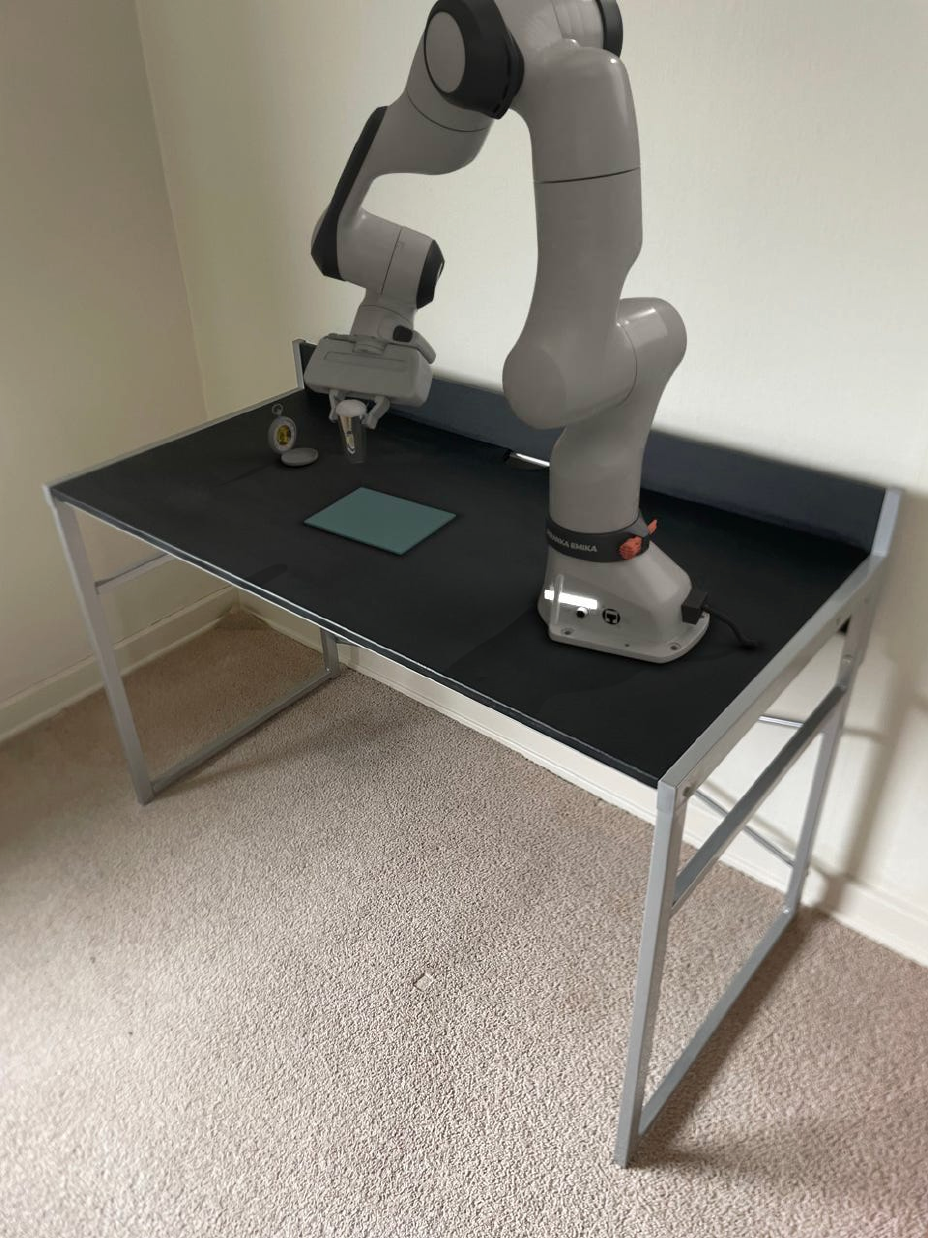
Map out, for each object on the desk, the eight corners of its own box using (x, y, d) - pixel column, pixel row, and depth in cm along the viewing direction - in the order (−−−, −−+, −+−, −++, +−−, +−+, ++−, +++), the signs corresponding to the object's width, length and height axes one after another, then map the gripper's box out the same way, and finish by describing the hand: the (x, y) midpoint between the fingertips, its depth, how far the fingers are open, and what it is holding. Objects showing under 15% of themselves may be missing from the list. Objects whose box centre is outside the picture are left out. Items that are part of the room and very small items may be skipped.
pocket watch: (315, 467, 165) (307, 414, 159) (269, 469, 165) (259, 416, 160) (322, 448, 172) (314, 396, 166) (277, 450, 172) (268, 399, 167)
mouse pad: (455, 516, 146) (455, 514, 146) (400, 555, 137) (400, 553, 137) (361, 489, 157) (361, 486, 156) (304, 523, 148) (303, 521, 147)
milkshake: (371, 466, 138) (366, 403, 132) (337, 464, 139) (330, 401, 133) (379, 453, 141) (374, 391, 136) (346, 451, 142) (339, 389, 136)
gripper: (312, 321, 139) (283, 406, 138) (429, 334, 131) (400, 424, 129) (332, 341, 145) (305, 423, 143) (446, 355, 136) (418, 442, 135)
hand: (351, 424), depth 136 cm, fingers closed on milkshake, 4 cm apart
